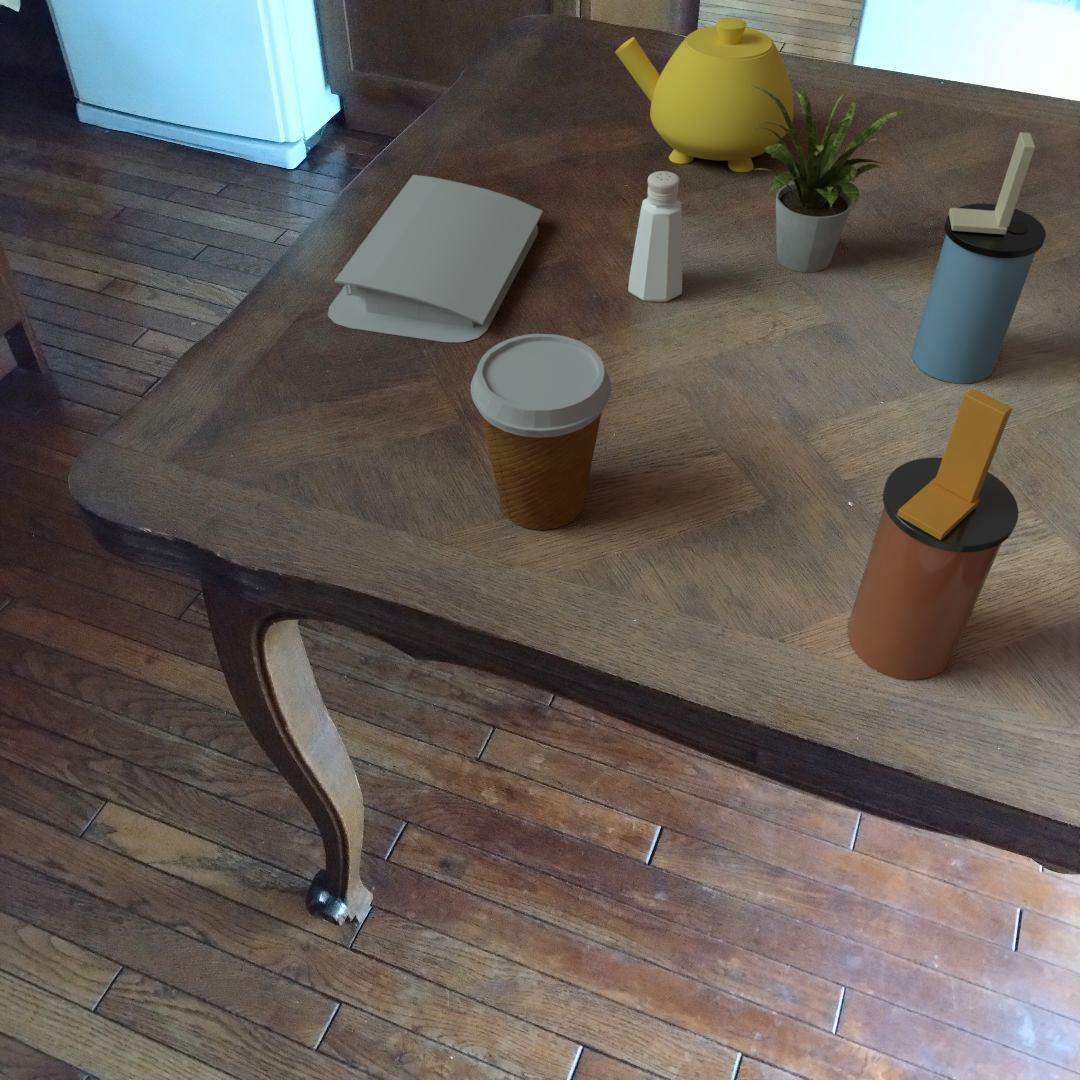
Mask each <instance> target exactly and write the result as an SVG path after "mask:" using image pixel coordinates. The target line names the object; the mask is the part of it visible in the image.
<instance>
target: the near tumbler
mask: <svg viewBox="0 0 1080 1080" xmlns="http://www.w3.org/2000/svg"><path fill="white" fill-rule="evenodd" d="M942 459H943V457H936V456H935V457H934V456H933V457H922V458H917V459H913V460H910V461H907V462H905V463H903V464H901V465H899V466H898V467H897V468H895V469H894V470H893V471H892V472H891V473H890V474H889V476H888V477H887V479H886V482H885V484H884V487H883V491H882V502H883V509H882V512H881V515H880V518H879V522H878V525H877V528H876V531H875V535H874V538H873V541H872V544H871V548H870V551H869V554H868V557H867V560H866V564H865V567H864V571H863V574H862V578H861V581H860V584H859V587H858V591H857V594H856V596H855V597H856V598H855V600H854V602H853V606H852V610H851V613H850V616H849V620H848V624H847V638H848V641H849V644H850V646H851V647H852V650H853V651H854V653H855V654H856V655H857V656H858V658H859V659H860V660H861V661H863V662H864V664H866V665H867V666H869V667H870V668H871V669H873V670H875V671H877V672H879V673H880V674H883V675H886V676H888V677H892V678H896V679H898V680H899V679H901V680H909V681H914V680H915V681H916V680H918V681H919V680H925V679H928V678H931V677H934V676H937V675H938V674H940V673H941V672H943V671H944V670H946V669H947V667H948V666H949V664H950V663H951V662H952V659H953V658H954V655H955V652H956V650H957V648H958V646H959V643H960V641H961V639H962V637H963V635H964V632H965V630H966V628H967V625H968V623H969V620H970V618H971V616H972V613H973V611H974V609H975V606H976V604H977V602H978V599H979V597H980V594H981V592H982V590H983V589H984V588H983V587H984V586H985V583H986V581H987V578H988V577H989V574H990V571H991V569H992V567H993V564H994V563H995V560H996V558H997V555H998V553H999V551H1000V548H1001V546H1002V544H1003V543H1004V542H1005V541H1006V540H1007V539H1009V537H1010V536H1011V535H1012V534H1013V532H1014V530H1015V528H1016V525H1017V523H1018V520H1019V507H1018V503H1017V500H1016V498H1015V496H1014V494H1013V493H1012V491H1011V490H1010V489H1009V488H1008V486H1007V485H1006V484H1005V483H1004V482H1003V481H1002V480H1001V479H999V478H998V477H997V476H995V475H994V474H992V472H990V471H988V472H987V475H986V477H985V480H984V483H983V485H982V488H981V490H980V493H979V495H978V497H977V498H978V499H980V502H979V504H978V506H977V507H976V508H975V509H974V510H973V511H972V512H970V513H969V514H968V515H967V516H966V517H965V518H964V519H963V520H962V521H961V522H960V523H959V524H958V525H956V526H955V527H954V528H953V529H952V530H951V531H950V532H949V533H948V534H947V535H946V536H945V537H944V538H942V539H941V540H939V539H937V538H936V537H934V536H932V535H930V534H929V533H927V532H925V531H923V530H922V529H920V528H918V527H916V526H915V525H913V524H911V523H909V522H908V521H906V520H904V519H902V518H901V517H899V516H897V514H898V511H899V509H900V508H901V507H902V506H903V505H905V504H906V503H907V502H908V501H909V500H910V499H911V498H913V497H914V496H915V495H916V494H917V493H918V492H919V491H921V490H922V489H923V488H924V487H925V486H926V485H928V484H929V483H930V482H931V481H932V480H933V479H934V478H936V476H937V473H938V470H939V467H940V465H941V462H942Z"/></svg>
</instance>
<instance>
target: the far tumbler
mask: <svg viewBox="0 0 1080 1080" xmlns="http://www.w3.org/2000/svg"><path fill="white" fill-rule="evenodd" d="M996 205H997V203H995V204H994V203H971V204H965V205H961V206H959V207H958V208H962V209H976V210H989V211H995V208H996ZM944 232H945V237H944V240H943V244H942V247H941V250H940V254H939V257H938V261H937V264H936V266H935V267H936V268H935V271H934V275H933V278H932V282H931V285H930V288H929V292H928V295H927V299H926V302H925V306H924V309H923V312H922V316H921V320H920V323H919V326H918V330H917V333H916V336H915V339H914V344H913V347H912V350H911V357H912V360H913V363H914V364H915V366H917V368H918V369H919V370H920V371H921V372H923V373H925V374H926V375H928V376H930V377H931V378H934V379H937V380H939V381H942V382H947V383H951V384H959V385H961V384H962V385H963V384H974V383H977V382H981V381H983V380H985V379H987V378H989V376H990V375H991V374H992V373H993V371H994V369H995V366H996V363H997V360H998V359H999V358H998V357H999V356H1000V352H1001V350H1002V347H1003V343H1004V342H1005V338H1006V336H1007V332H1008V330H1009V327H1010V325H1011V322H1012V319H1013V315H1014V313H1015V311H1016V308H1017V305H1018V302H1019V299H1020V297H1021V294H1022V292H1023V288H1024V285H1025V283H1026V281H1027V278H1028V274H1029V273H1030V269H1031V266H1032V264H1033V261H1034V258H1035V255H1036V252H1038V251H1039V250H1041V249H1042V247H1043V245H1044V243H1045V239H1046V236H1047V233H1046V229H1045V227H1044V225H1043V224H1042V223H1041V222H1040V220H1039V219H1037V218H1035V217H1034V216H1032V215H1030V214H1029V213H1027V212H1025V211H1023V210H1020V209H1017V208H1015V210H1014V213H1013V215H1012V218H1011V221H1010V224H1009V227H1007V232H1006V234H1005V235H1003V234H990V233H977V232H964V231H952V228H951V223H950V217H949V214H948V215H947V216H946V219H945V223H944Z"/></svg>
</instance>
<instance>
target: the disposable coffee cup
mask: <svg viewBox="0 0 1080 1080" xmlns="http://www.w3.org/2000/svg"><path fill="white" fill-rule="evenodd" d="M476 367H477V368H476V371H475V372H474V373H473V375H472V379H471V382H470V396H471V399H472V402H473V403H474V405H475V407H476V409H477V410H478V412H479V413H480V417H481V420H482V421H481V422H482V425H483V430H484V435H485V439H486V445H487V450H488V453H489V458H490V462H491V467H492V471H493V476H494V480H495V485H496V489H497V493H498V499H499V504H500V508H501V511H502V512H503V514H504V515H505V517H506V518H507V519H508V520H510V521H511V522H512V523H514V524H516V525H518V526H520V527H522V528H527V529H530V530H539V531H541V530H553V529H558V528H561V527H563V526H566V525H568V524H570V523H571V522H573V521H574V520H575V519H577V517H579V515H580V514H581V512H582V511H583V509H584V506H585V501H586V500H585V499H586V494H587V489H588V483H589V478H590V473H591V469H592V463H593V458H594V453H595V449H596V443H597V439H598V433H599V428H600V423H601V417H602V414H603V411H604V409H605V407H606V405H607V404H608V402H609V401H610V396H611V394H612V383H611V378H610V375H609V373H608V371H607V370H606V368H605V366H604V362H603V359H602V358H601V357H600V356H599V354H598V352H596V351H595V350H594V349H593V348H591V347H590V346H589V345H588V344H586V343H584V342H582V341H580V340H578V339H575V338H572V337H569V336H565V335H560V334H553V333H552V334H550V333H529V334H523V335H518V336H513V337H511V338H508V339H506V340H503V341H501V342H499V343H496V344H495V345H493V346H492V347H491V348H490V349H488V350H487V351H486V352H485V353H484V354H483V355H482V357H481V358H480V360H479V362H478V364H477V366H476Z"/></svg>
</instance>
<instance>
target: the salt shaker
mask: <svg viewBox="0 0 1080 1080" xmlns="http://www.w3.org/2000/svg"><path fill="white" fill-rule="evenodd" d="M680 182H681V179H680V177H679V175H678V174H676V173H674V172H672V171H668V170H660V171H655V172H652V173H651V174H649V175H648V177H647V197H646V198H645V199H644V198H643V199H642V201H641V206H640V212H639V218H638V224H637V229H636V236H635V241H634V248H633V254H632V260H631V265H630V271H629V277H628V288H627V291H628V293H630V294H631V295H633V296H635V297H637V298H638V299H640V300H642V301H643V302H653V303H656V302H657V303H667V302H668V301H671V300H673V299H675V298H677V297H679V296H681V295H683V225H682V224H683V222H682V221H683V219H682V218H683V215H682V211H683V210H682V201H681V200H679V199H678V195H679V186H680Z"/></svg>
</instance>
